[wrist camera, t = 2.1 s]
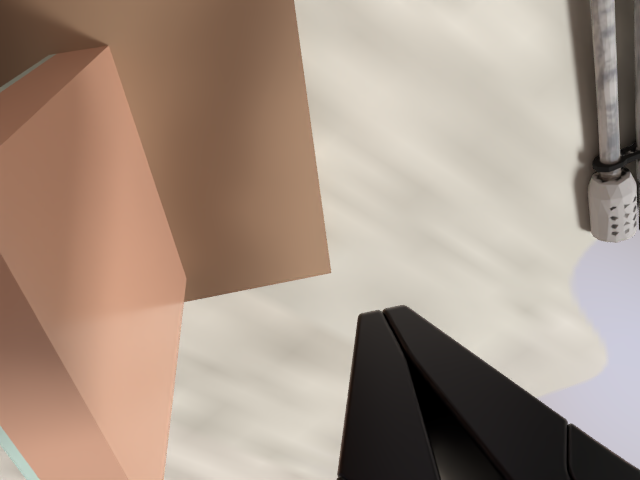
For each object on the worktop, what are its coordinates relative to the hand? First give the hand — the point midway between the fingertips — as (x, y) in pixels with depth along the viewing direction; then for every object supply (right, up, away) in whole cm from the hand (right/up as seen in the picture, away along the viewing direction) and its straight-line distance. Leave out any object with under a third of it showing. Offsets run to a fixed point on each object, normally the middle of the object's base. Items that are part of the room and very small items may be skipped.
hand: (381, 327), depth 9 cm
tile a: (-7, +3, +7) cm, 10 cm away
